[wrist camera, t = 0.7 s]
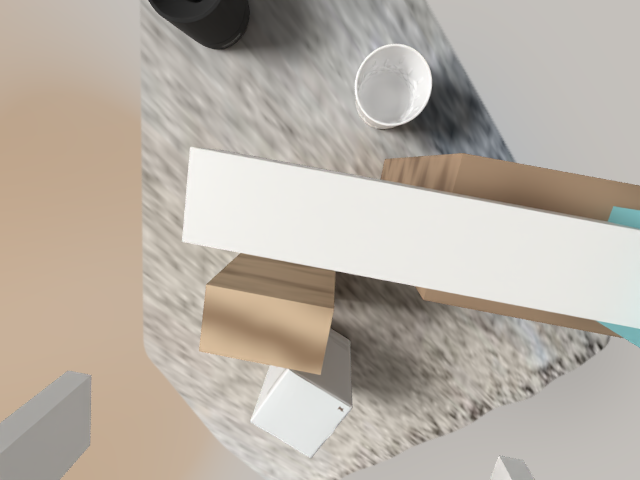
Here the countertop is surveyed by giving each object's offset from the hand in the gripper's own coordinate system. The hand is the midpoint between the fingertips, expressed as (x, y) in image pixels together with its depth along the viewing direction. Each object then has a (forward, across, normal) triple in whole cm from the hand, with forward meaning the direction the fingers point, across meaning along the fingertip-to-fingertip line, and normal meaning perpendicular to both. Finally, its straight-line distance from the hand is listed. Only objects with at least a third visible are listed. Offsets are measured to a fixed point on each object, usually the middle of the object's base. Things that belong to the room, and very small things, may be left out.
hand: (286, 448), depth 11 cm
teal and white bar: (+9, +7, +6) cm, 13 cm away
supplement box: (+39, +1, -20) cm, 44 cm away
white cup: (+39, +4, +17) cm, 43 cm away
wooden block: (+39, -4, -8) cm, 40 cm away
